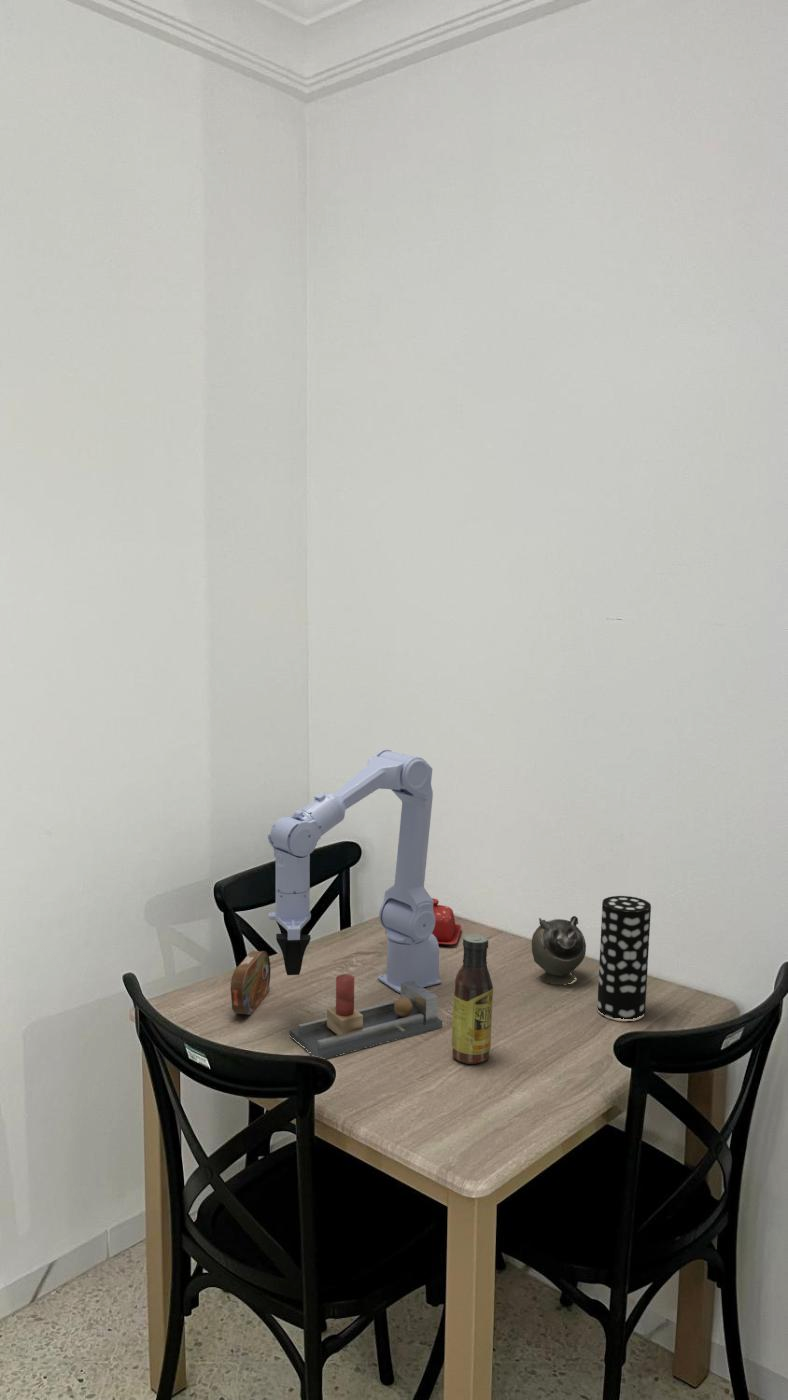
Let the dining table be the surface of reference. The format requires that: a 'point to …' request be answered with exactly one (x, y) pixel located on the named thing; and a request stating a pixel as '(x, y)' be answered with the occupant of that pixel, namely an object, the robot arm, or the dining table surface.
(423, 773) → the robot arm
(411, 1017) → the base
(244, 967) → the tin
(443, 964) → the dining table surface
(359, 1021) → the press slider
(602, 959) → the white-spotted black cylinder
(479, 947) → the sauce bottle
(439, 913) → the butter dish
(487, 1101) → the dining table surface
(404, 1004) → the nut
